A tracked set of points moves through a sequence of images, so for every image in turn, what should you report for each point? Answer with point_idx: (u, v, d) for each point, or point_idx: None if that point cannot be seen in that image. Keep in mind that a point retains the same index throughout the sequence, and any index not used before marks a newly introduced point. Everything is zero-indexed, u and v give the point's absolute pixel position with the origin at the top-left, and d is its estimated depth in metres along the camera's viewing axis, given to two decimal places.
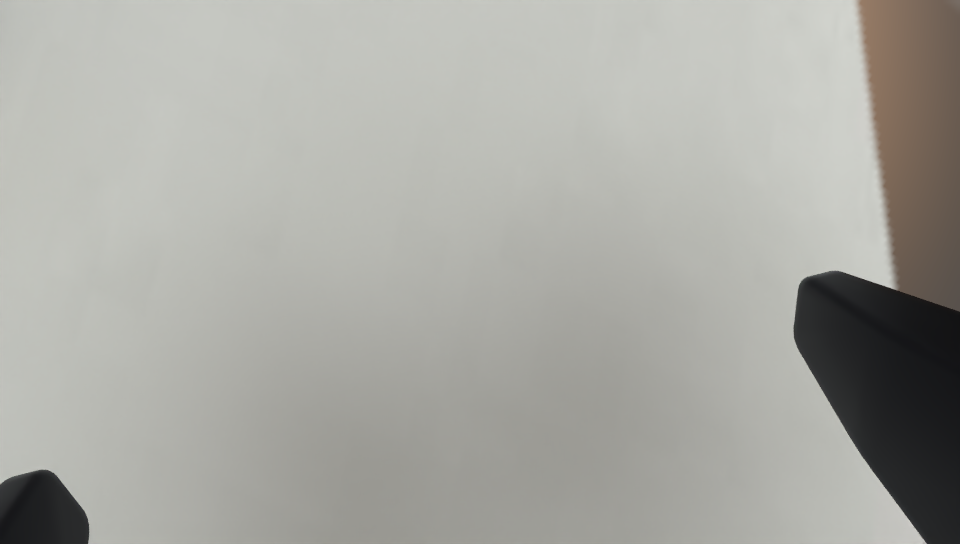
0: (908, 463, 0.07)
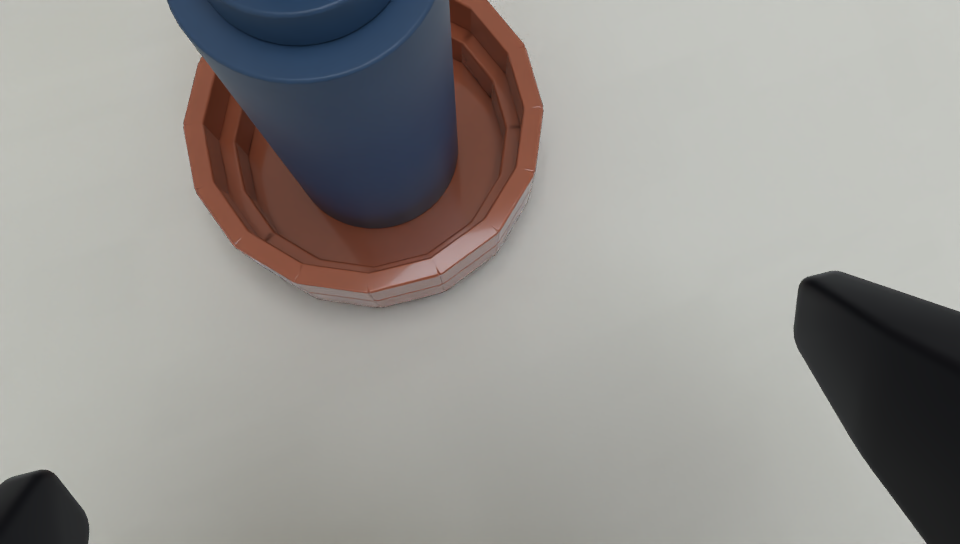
0: (908, 463, 0.07)
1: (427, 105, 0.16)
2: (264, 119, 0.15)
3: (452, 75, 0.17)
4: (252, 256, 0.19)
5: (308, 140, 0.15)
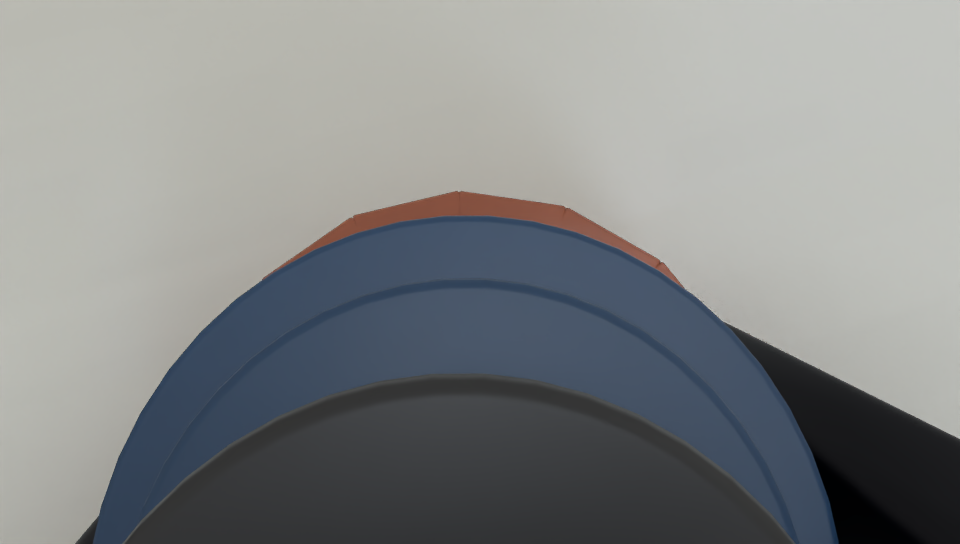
0: None
1: None
2: None
3: None
4: None
5: None
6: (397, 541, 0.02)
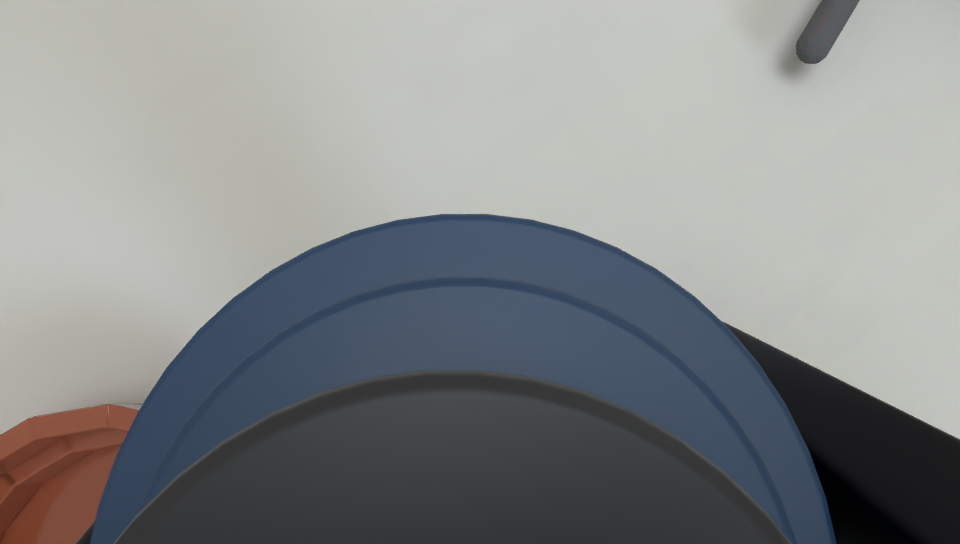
0: None
1: None
2: None
3: None
4: None
5: None
6: (391, 537, 0.02)
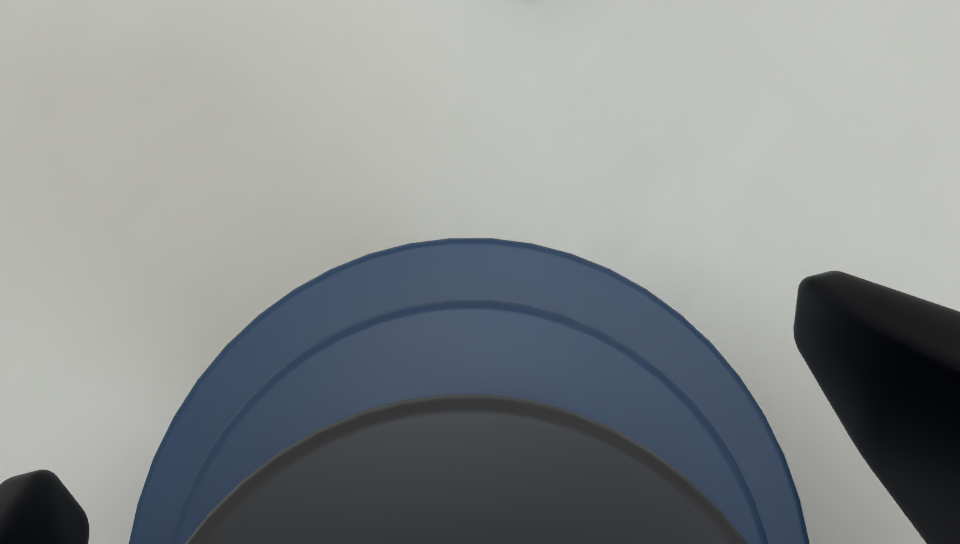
0: (908, 463, 0.07)
1: None
2: None
3: None
4: None
5: None
6: (418, 532, 0.02)
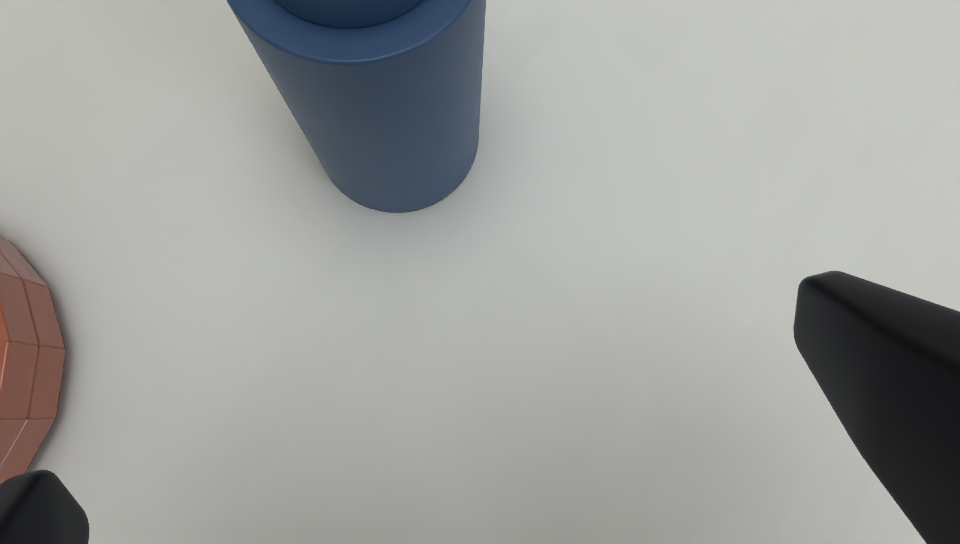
0: (908, 463, 0.07)
1: (460, 91, 0.16)
2: (303, 99, 0.15)
3: None
4: None
5: (343, 121, 0.16)
6: None
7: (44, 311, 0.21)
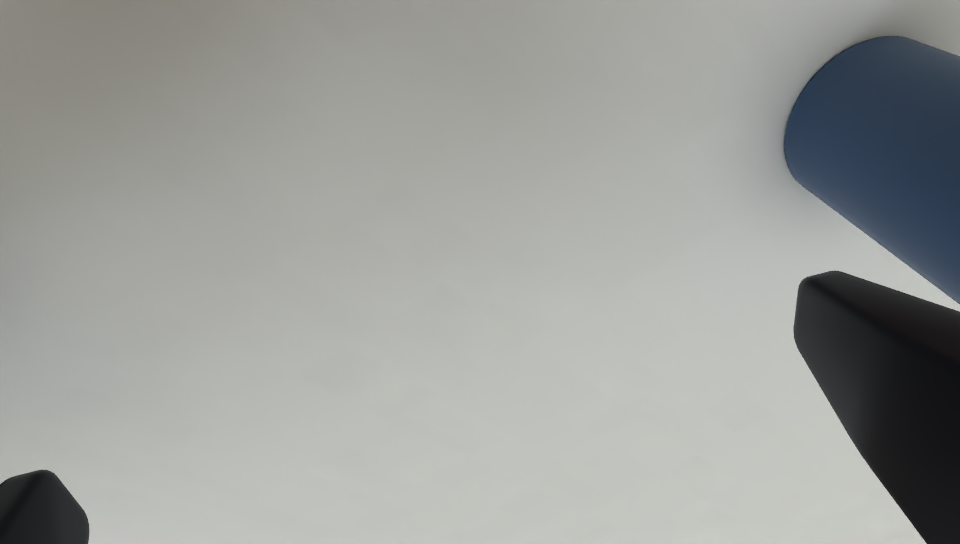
0: (908, 463, 0.07)
1: (939, 286, 0.18)
2: None
3: None
4: None
5: None
6: None
7: None
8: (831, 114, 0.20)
